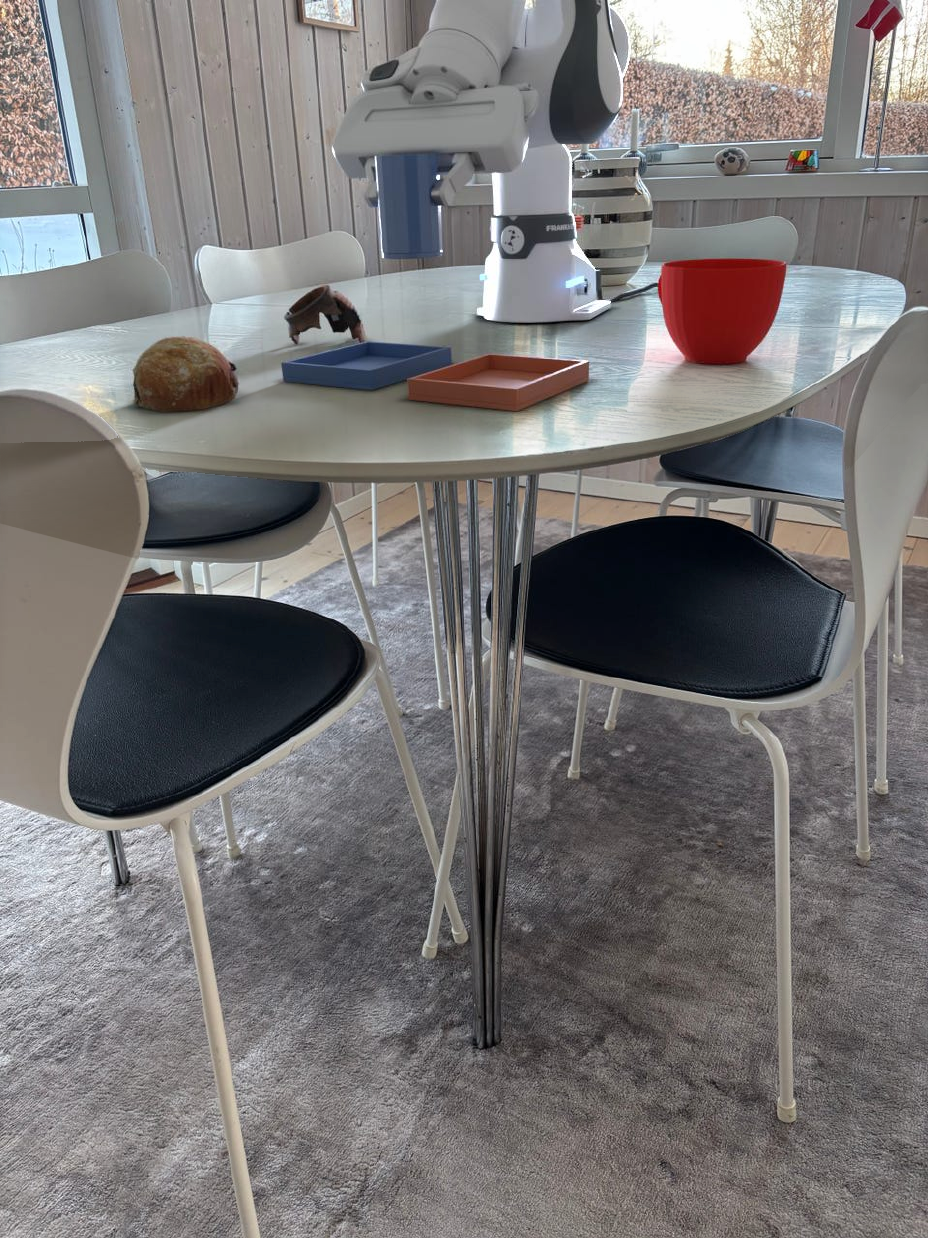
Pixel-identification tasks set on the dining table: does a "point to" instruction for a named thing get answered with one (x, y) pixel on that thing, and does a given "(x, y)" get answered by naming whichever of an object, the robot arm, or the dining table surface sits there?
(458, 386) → the terracotta tray
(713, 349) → the ceramic cup
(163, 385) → the bread roll
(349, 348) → the blue tray
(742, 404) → the dining table surface
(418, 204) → the blue tumbler
